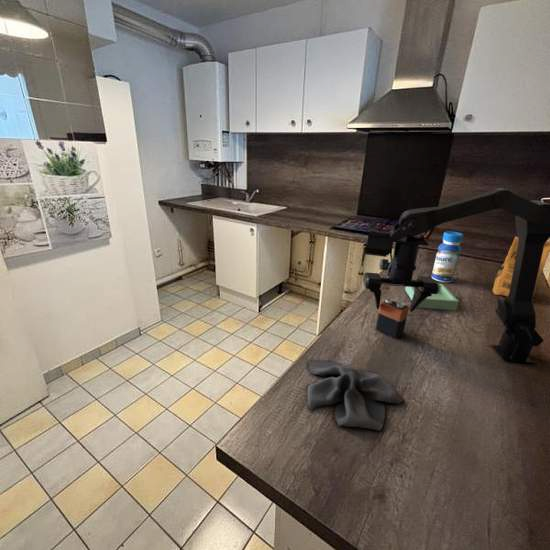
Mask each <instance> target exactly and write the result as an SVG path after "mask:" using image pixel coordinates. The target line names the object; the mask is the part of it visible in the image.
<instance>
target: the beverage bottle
mask: <svg viewBox="0 0 550 550" xmlns="http://www.w3.org/2000/svg"><path fill="white" fill-rule="evenodd" d="M463 238H464V234H463V233H461V232H458V231H444V232H443V236H442V243H440V244H439V246H438V247H437V250H438V251H437V252H436V254H435V260H434V264H433V268H432V272H431V276H430V277H432V278H433V279H434V280H435V281H436V282H439V283H452V282H453V281H454V278H455V274H456V271H457V267H458V264H459V261H460V260H461V259H460V258H461V255H460V254H461V253H462V247H461V243H462V241H463Z"/></svg>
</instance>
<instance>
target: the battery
mask: <svg viewBox="0 0 550 550" xmlns="http://www.w3.org/2000/svg"><path fill="white" fill-rule="evenodd" d="M409 311H410V306H408V305H406V304H405V303H404V302H402V301H395V300H393V299H391V298H386V299H385V300H383V301H380V306H379V309H378V314H377V320H376V325H375V329H376V330H378V331H380V332H382V333H383V334H386V335H388V336H390V337H392V338H394V339H398V338H400V337H401V336H402V335H404V332H405V329H406V323H407V319H408V315H409Z"/></svg>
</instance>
